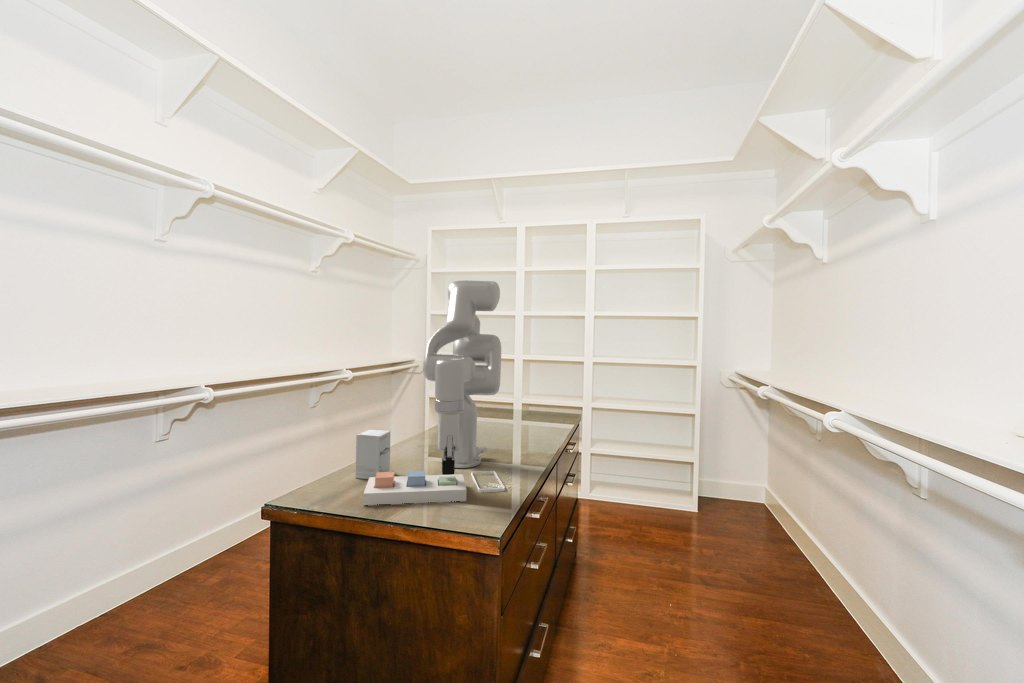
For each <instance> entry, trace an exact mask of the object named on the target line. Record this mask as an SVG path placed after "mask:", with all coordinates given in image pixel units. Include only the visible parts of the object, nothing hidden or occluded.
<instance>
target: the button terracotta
mask: <svg viewBox="0 0 1024 683" xmlns="http://www.w3.org/2000/svg"><path fill="white" fill-rule="evenodd" d="M394 476H395V471H390V472H377V474H376V477H375V488H391V487H394Z"/></svg>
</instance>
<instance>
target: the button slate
mask: <svg viewBox="0 0 1024 683" xmlns="http://www.w3.org/2000/svg"><path fill="white" fill-rule="evenodd" d="M425 475H426V470H408V471H407V476H408V487H418V486H425Z"/></svg>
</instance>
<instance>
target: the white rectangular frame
mask: <svg viewBox="0 0 1024 683" xmlns="http://www.w3.org/2000/svg"><path fill="white" fill-rule="evenodd" d="M477 473H483V474H484V473H490V475H494V476H495V478H496V480H497V479H498V480H497V482H498V483H499V484H501V485H500V486H501V487H499V488H498V487H495V488H494V487H493V488H480V487H479V485H478V483H477V480H476V478H475V475H476V474H477ZM473 474H475V475H473ZM470 476H472V477H471V479H472V481H473V484H474V483H475V484H474V486H475V487H476V488H477V493H479V492H480V493H479V494H481V493H482V494H483V492H484V493H498V492H500V493H501V492H505V491H506V486H505V484H504V483H503V482H502V480H501V479H500V477H499V476H498V473H497V472H496V471H494V470H487V471H485V470H483V471H471V473H470Z"/></svg>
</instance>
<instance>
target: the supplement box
mask: <svg viewBox="0 0 1024 683" xmlns="http://www.w3.org/2000/svg"><path fill="white" fill-rule="evenodd" d="M355 444H356V445H355V478H356V479H364V480H369V477H376V474H377V472H391V470H390V468H391V465H390V464H391V430H383V429H382V430H381V429H379V430H378V429H367V430H365V431H363V432H360V433H359V434H356V441H355Z"/></svg>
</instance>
